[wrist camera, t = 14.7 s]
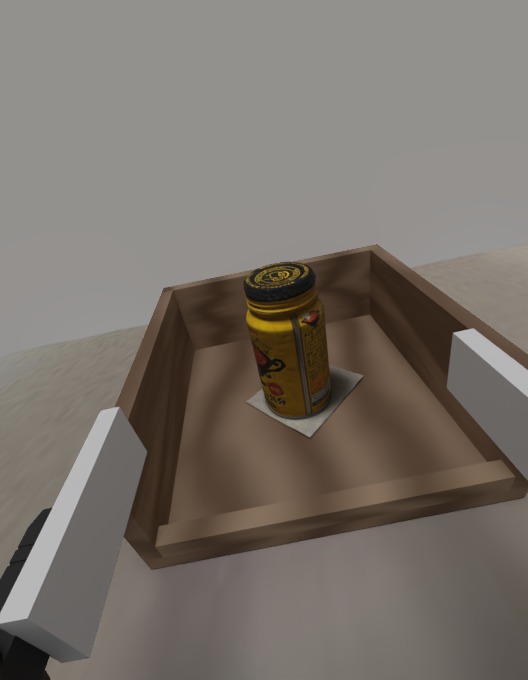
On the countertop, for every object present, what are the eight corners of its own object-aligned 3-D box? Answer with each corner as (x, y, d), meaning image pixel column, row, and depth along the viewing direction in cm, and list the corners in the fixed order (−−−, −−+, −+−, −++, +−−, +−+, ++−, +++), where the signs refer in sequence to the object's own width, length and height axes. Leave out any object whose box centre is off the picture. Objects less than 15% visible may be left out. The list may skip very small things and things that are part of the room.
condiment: (246, 403, 30) (212, 285, 23) (301, 355, 35) (285, 245, 28) (310, 439, 25) (290, 305, 19) (363, 378, 30) (362, 253, 23)
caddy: (375, 316, 40) (377, 244, 35) (524, 497, 20) (575, 389, 15) (188, 354, 41) (163, 288, 36) (151, 569, 21) (81, 487, 16)
